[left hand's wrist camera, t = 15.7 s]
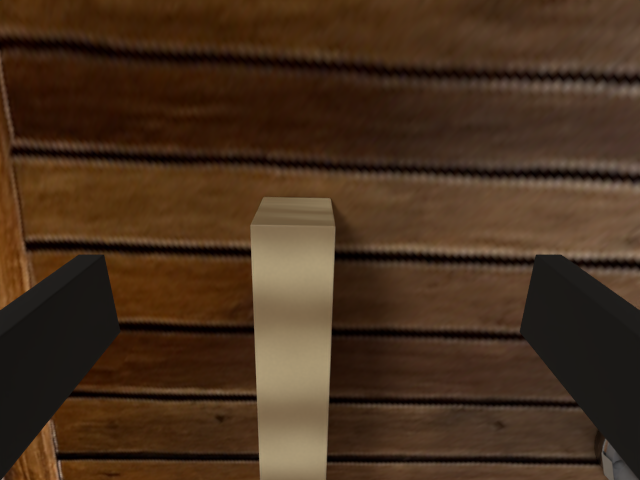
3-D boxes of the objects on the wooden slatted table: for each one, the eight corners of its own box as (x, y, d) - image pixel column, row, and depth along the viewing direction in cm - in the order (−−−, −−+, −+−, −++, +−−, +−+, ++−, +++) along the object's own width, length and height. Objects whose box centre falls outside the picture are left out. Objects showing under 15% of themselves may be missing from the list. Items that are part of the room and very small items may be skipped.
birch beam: (263, 196, 36) (250, 224, 28) (330, 198, 36) (335, 226, 28) (270, 478, 47) (262, 551, 40) (321, 478, 48) (323, 550, 40)
